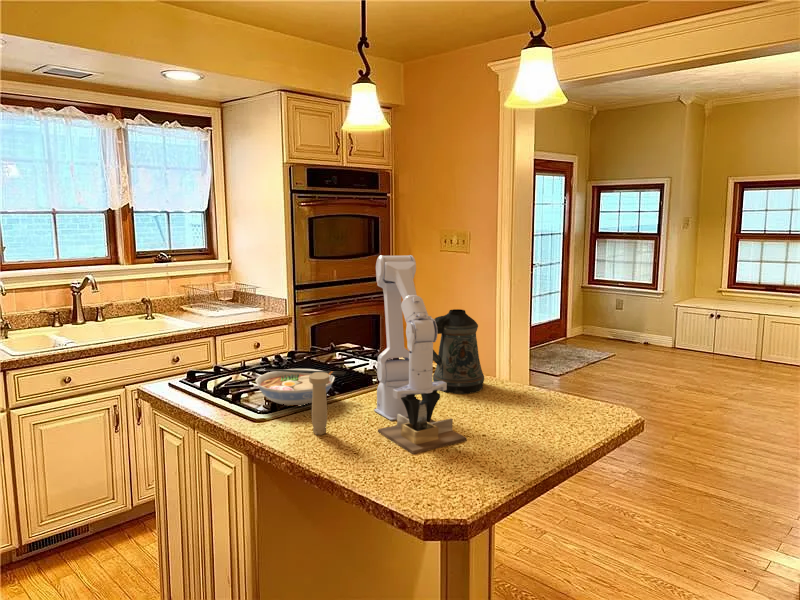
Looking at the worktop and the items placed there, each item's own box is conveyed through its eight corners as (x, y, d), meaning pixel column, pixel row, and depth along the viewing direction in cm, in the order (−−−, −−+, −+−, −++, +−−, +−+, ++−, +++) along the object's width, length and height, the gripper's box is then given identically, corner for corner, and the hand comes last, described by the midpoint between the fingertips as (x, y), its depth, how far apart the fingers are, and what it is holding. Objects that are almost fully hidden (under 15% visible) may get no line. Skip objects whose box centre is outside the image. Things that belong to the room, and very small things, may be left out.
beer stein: (494, 386, 193) (496, 310, 189) (457, 400, 179) (459, 318, 175) (453, 376, 204) (455, 304, 200) (415, 388, 190) (417, 311, 186)
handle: (330, 428, 154) (330, 372, 152) (327, 437, 148) (327, 379, 146) (311, 428, 154) (311, 372, 152) (308, 437, 148) (307, 379, 146)
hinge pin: (409, 429, 147) (409, 401, 146) (421, 426, 149) (421, 399, 148) (418, 433, 144) (418, 405, 143) (429, 430, 146) (430, 403, 145)
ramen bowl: (237, 412, 166) (237, 383, 165) (272, 388, 188) (272, 363, 187) (323, 420, 160) (322, 390, 159) (348, 394, 182) (348, 368, 181)
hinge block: (377, 432, 152) (378, 417, 152) (429, 421, 161) (429, 407, 160) (412, 454, 139) (412, 438, 138) (466, 440, 147) (467, 426, 147)
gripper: (404, 376, 137) (403, 433, 139) (454, 368, 145) (453, 421, 147) (388, 369, 143) (388, 423, 145) (437, 361, 151) (436, 413, 153)
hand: (419, 422), depth 146 cm, fingers closed on hinge pin, 3 cm apart
